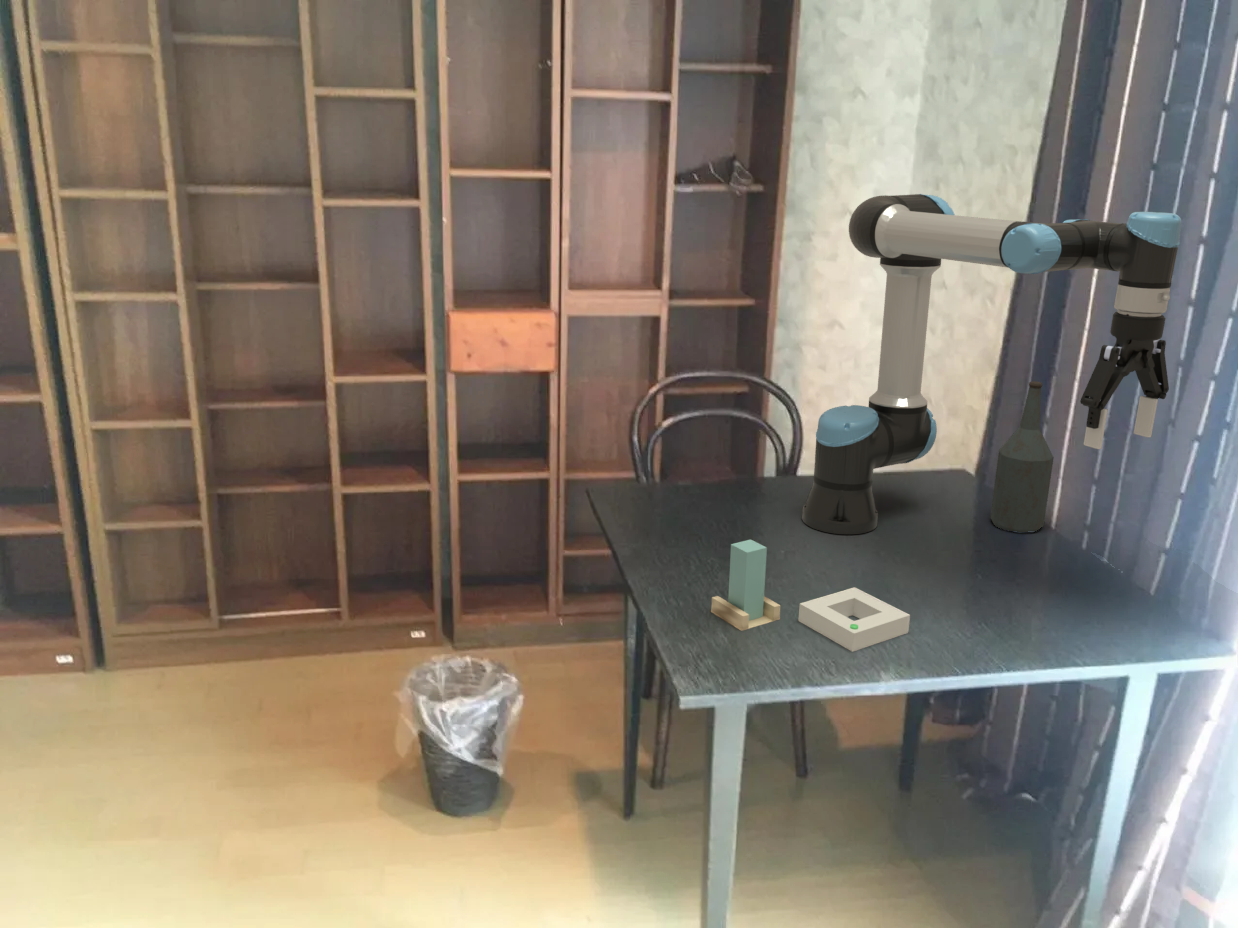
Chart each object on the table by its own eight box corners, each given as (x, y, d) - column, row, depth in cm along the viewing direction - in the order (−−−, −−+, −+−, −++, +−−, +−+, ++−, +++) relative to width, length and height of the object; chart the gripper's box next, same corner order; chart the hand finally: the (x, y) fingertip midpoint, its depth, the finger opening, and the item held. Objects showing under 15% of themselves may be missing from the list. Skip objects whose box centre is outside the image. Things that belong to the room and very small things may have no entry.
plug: (727, 612, 165) (731, 544, 162) (746, 607, 167) (750, 539, 164) (743, 622, 162) (747, 552, 158) (762, 616, 164) (766, 547, 161)
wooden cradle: (709, 619, 166) (710, 597, 165) (748, 608, 171) (749, 587, 169) (740, 639, 160) (742, 616, 159) (779, 627, 164) (781, 605, 163)
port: (797, 629, 164) (799, 601, 162) (852, 611, 170) (854, 585, 168) (851, 660, 154) (854, 631, 152) (907, 640, 160) (910, 613, 159)
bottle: (1047, 536, 204) (1069, 389, 194) (995, 532, 205) (1015, 386, 196) (1035, 517, 213) (1055, 377, 204) (986, 514, 215) (1004, 375, 206)
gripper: (1113, 322, 153) (1091, 458, 159) (1207, 310, 165) (1183, 436, 172) (1069, 315, 159) (1049, 445, 165) (1162, 303, 171) (1141, 425, 178)
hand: (1117, 441), depth 169 cm, fingers open, 13 cm apart
